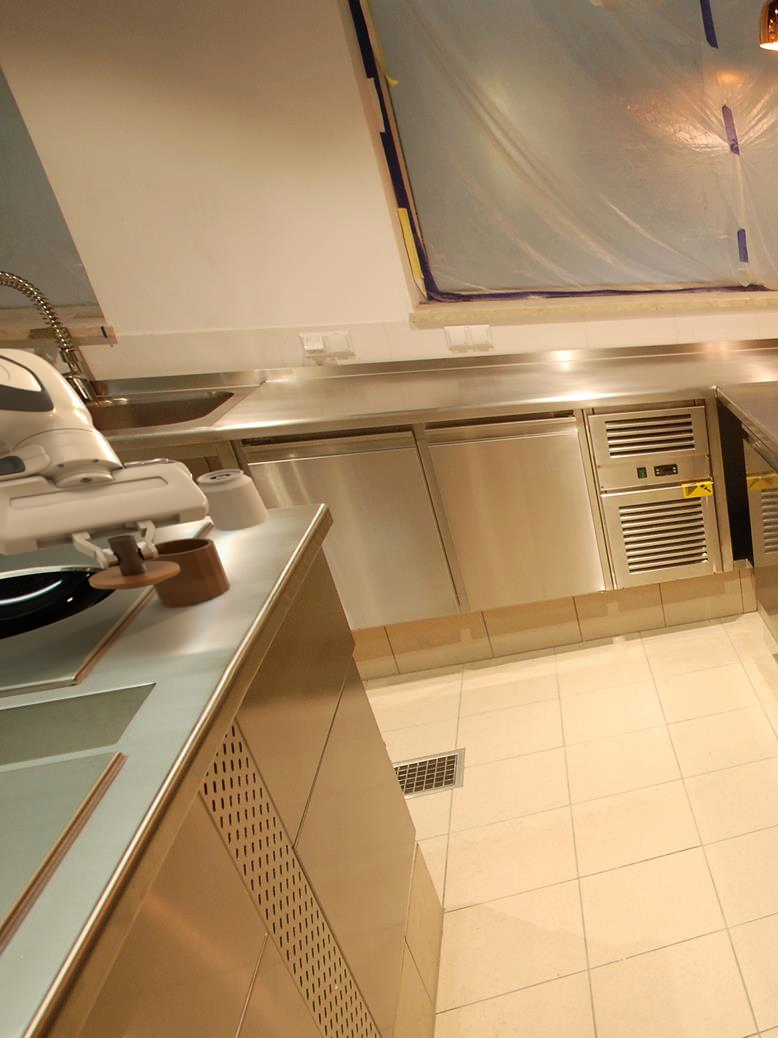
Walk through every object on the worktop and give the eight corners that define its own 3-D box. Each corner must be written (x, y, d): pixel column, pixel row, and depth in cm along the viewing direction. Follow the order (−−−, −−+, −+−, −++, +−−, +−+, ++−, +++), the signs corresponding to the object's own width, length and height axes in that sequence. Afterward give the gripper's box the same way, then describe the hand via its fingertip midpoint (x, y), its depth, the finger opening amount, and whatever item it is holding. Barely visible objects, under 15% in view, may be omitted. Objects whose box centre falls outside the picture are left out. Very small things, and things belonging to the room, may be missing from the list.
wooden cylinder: (173, 617, 116) (149, 559, 113) (155, 604, 120) (132, 547, 117) (241, 600, 122) (221, 545, 119) (222, 588, 126) (202, 534, 123)
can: (273, 527, 150) (242, 463, 143) (282, 540, 145) (250, 474, 139) (221, 540, 145) (187, 474, 139) (229, 553, 141) (194, 486, 134)
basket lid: (104, 599, 100) (84, 554, 97) (83, 583, 104) (63, 539, 102) (192, 579, 106) (176, 536, 104) (169, 565, 110) (152, 523, 108)
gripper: (179, 469, 114) (232, 552, 113) (-40, 501, 99) (20, 597, 98) (179, 441, 110) (233, 527, 109) (-50, 470, 95) (12, 570, 94)
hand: (131, 561), depth 103 cm, fingers closed on basket lid, 2 cm apart
